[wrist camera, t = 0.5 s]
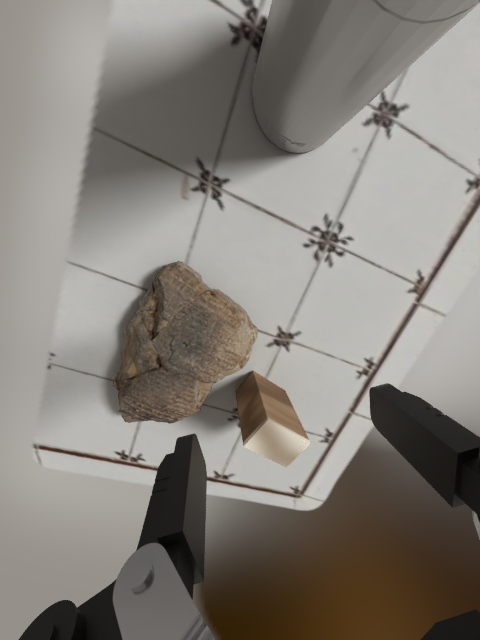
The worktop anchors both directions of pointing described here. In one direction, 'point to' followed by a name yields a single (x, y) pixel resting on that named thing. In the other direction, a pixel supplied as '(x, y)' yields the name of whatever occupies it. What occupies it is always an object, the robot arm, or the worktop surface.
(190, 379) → the clay tablet
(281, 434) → the walnut block
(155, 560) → the robot arm
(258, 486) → the worktop surface
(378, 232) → the worktop surface
